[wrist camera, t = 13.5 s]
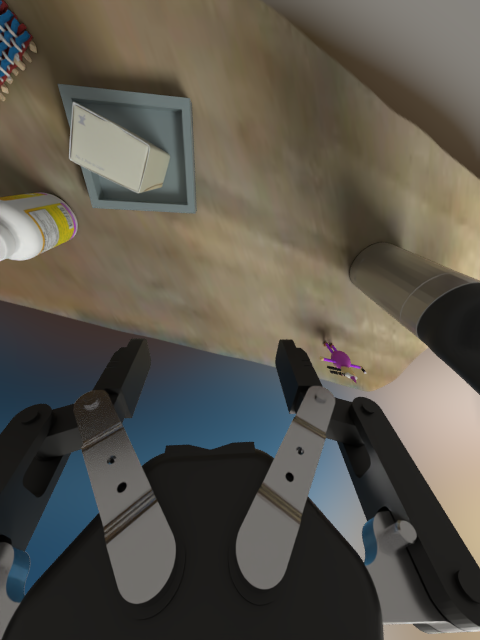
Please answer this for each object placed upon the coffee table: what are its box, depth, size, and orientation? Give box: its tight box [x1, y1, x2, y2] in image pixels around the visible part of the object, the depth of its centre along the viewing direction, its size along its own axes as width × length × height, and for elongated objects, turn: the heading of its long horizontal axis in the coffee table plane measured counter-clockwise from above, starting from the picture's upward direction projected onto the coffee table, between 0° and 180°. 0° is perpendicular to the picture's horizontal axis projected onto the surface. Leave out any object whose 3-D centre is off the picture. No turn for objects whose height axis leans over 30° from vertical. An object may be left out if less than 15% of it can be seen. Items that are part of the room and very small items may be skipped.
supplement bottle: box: [0, 192, 78, 261], centre depth 27 cm, size 7×7×13 cm
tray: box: [58, 84, 197, 213], centre depth 29 cm, size 14×12×2 cm
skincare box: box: [69, 102, 170, 193], centre depth 24 cm, size 6×4×12 cm
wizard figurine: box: [320, 342, 366, 382], centre depth 47 cm, size 11×3×12 cm, turn 69°
